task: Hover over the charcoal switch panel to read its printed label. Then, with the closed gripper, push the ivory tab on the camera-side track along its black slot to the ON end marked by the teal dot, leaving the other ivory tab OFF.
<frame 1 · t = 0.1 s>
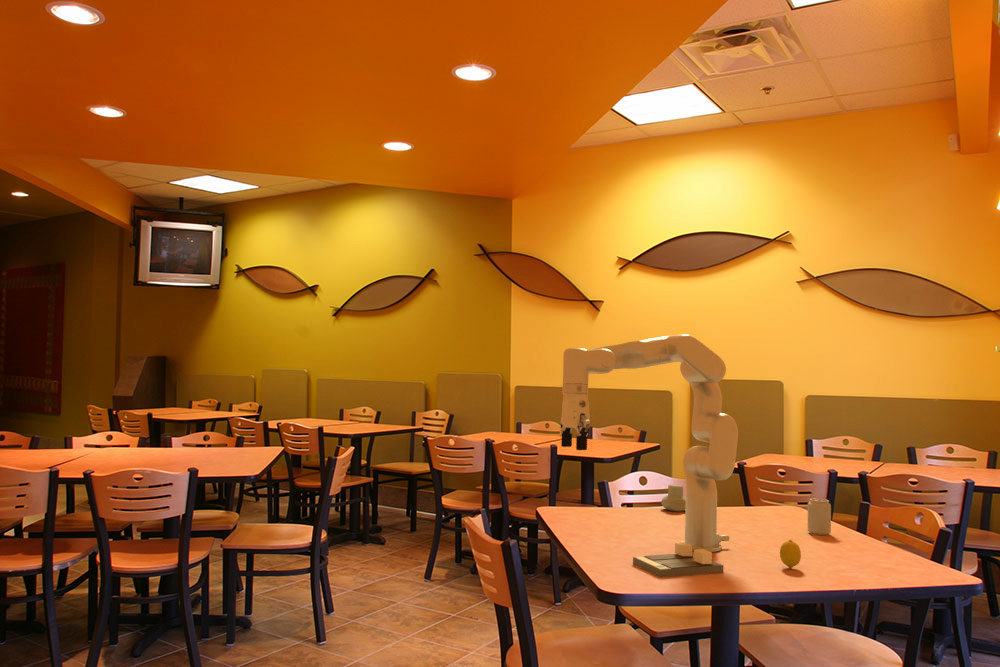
hand: (573, 448, 218), 31 cm above the table, fingers open, 9 cm apart
switch tab 2: (702, 556, 204), point 4 cm above the table, slide at 0.0 cm
air freshener: (675, 510, 299), on the table
switch panel: (677, 568, 206), on the table
switch tab 1: (683, 549, 212), point 4 cm above the table, slide at 0.0 cm
can: (819, 534, 260), on the table
lemon: (790, 569, 210), on the table
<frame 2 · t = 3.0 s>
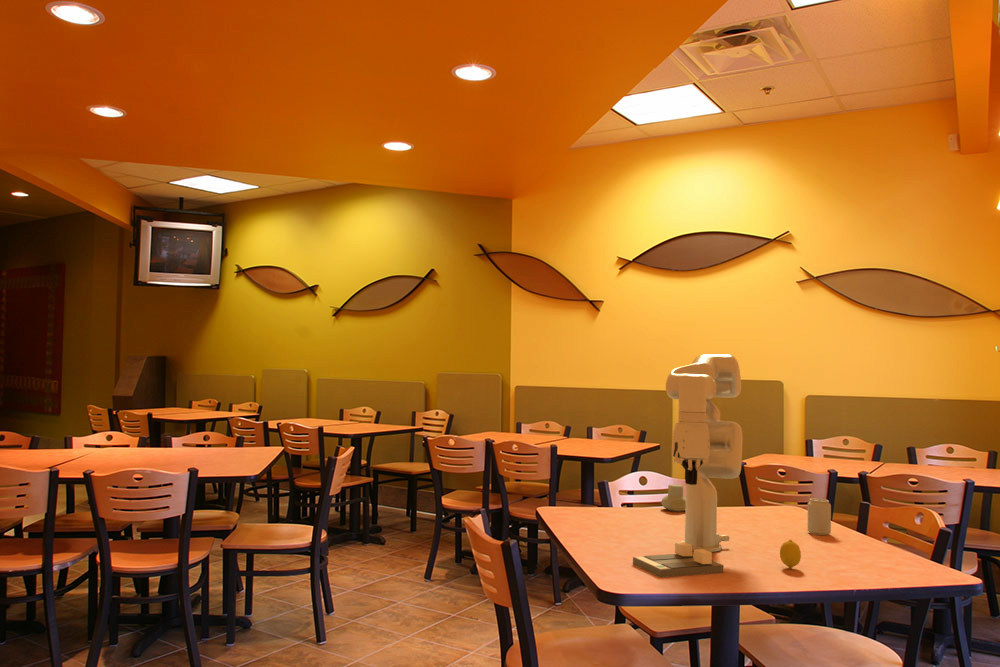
hand: (691, 483, 209), 23 cm above the table, fingers closed
nothing on the table moved.
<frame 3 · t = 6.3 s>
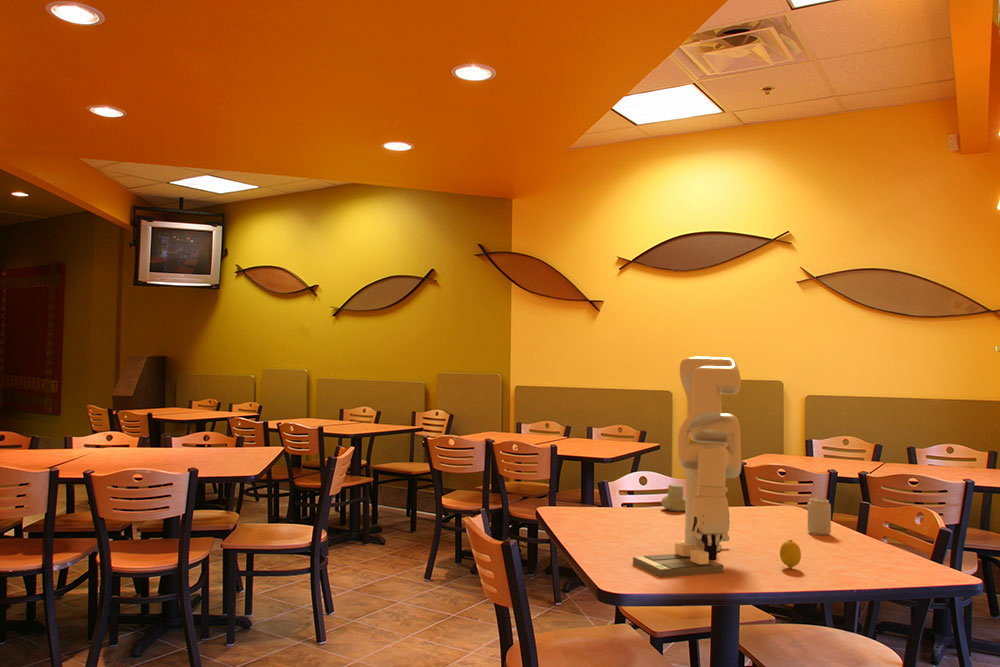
hand: (710, 559, 204), 3 cm above the table, fingers closed
switch tab 2: (699, 556, 203), point 4 cm above the table, slide at 1.1 cm, touching gripper
everything else where it was.
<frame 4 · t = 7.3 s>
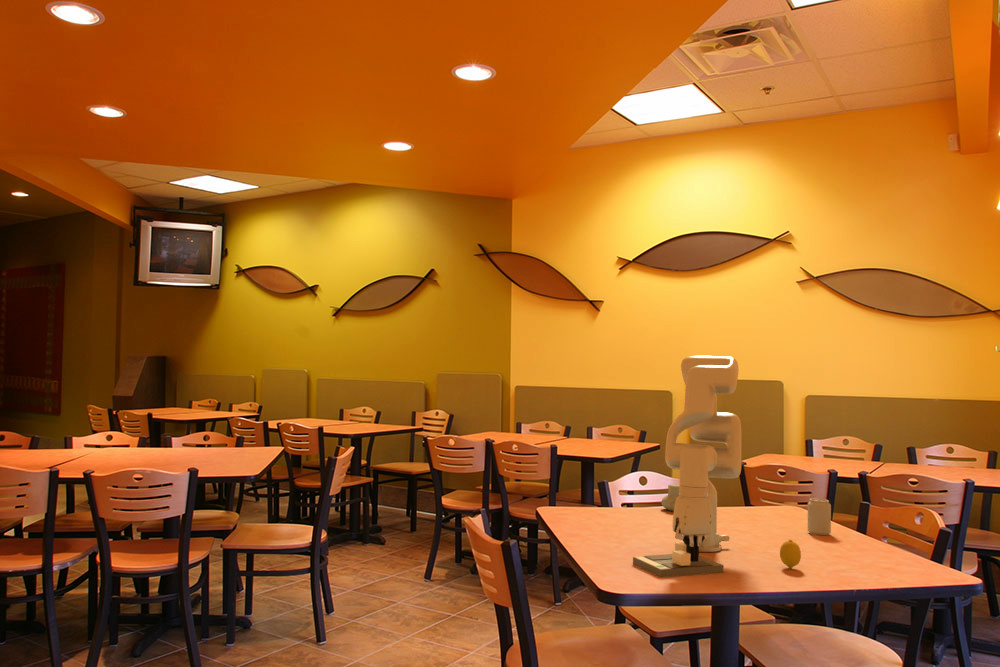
hand: (692, 560, 202), 3 cm above the table, fingers closed
switch tab 2: (681, 557, 201), point 4 cm above the table, slide at 6.9 cm, touching gripper
everything else where it was.
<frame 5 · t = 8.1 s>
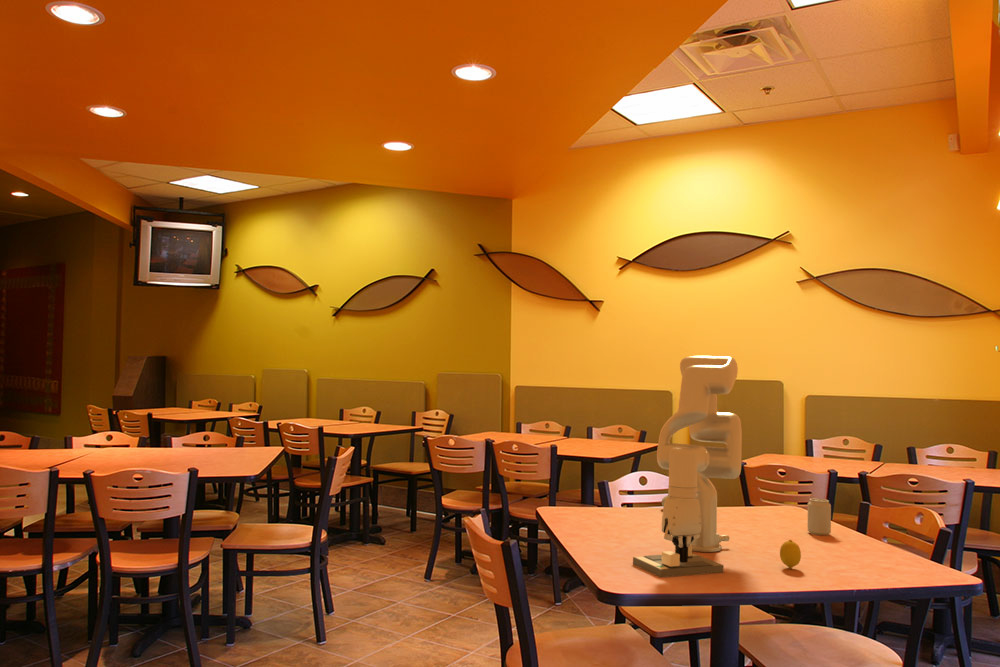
hand: (681, 561, 201), 3 cm above the table, fingers closed
switch tab 2: (670, 558, 200), point 4 cm above the table, slide at 10.3 cm, touching gripper
everything else where it was.
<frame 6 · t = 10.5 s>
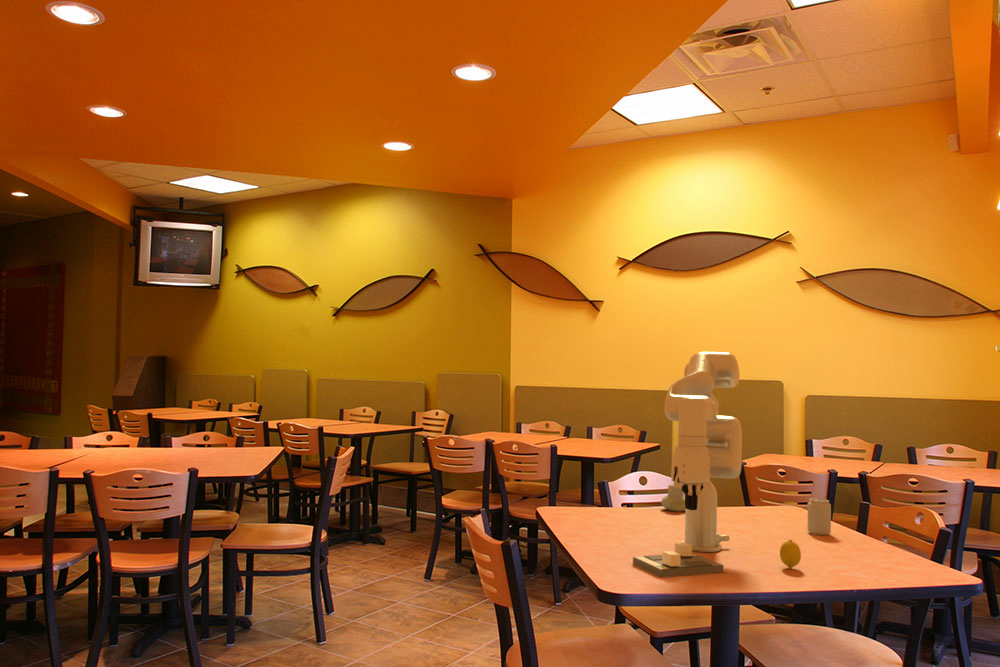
hand: (691, 509, 203), 17 cm above the table, fingers closed
switch tab 2: (671, 558, 200), point 4 cm above the table, slide at 10.1 cm
everything else where it was.
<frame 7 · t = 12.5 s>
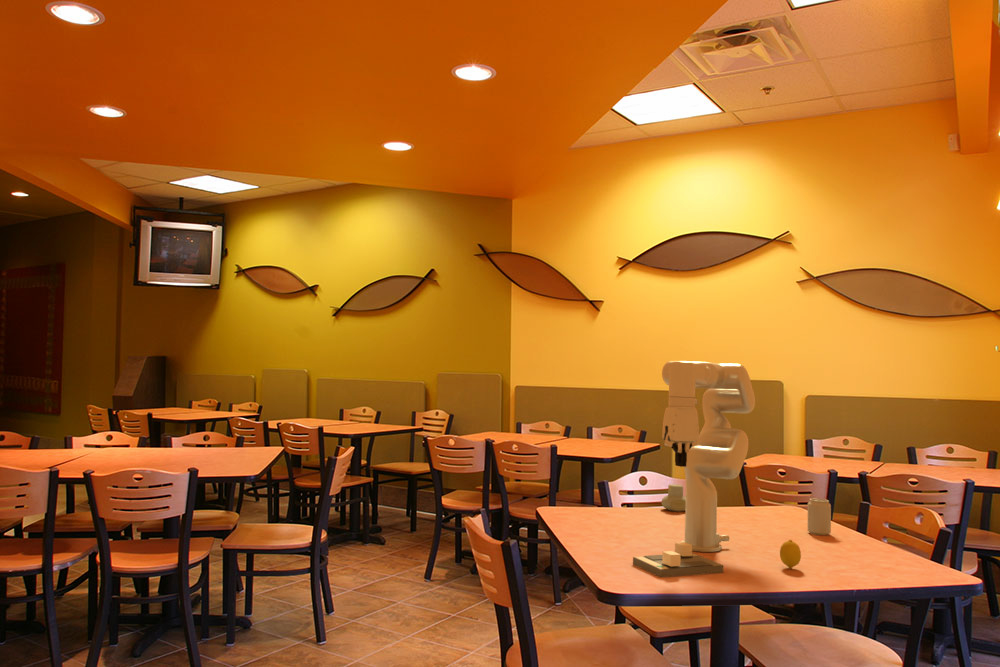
hand: (680, 466, 217), 27 cm above the table, fingers closed
nothing on the table moved.
at the end: switch tab 2 slide at 10.1 cm; switch tab 1 slide at 0.0 cm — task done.
